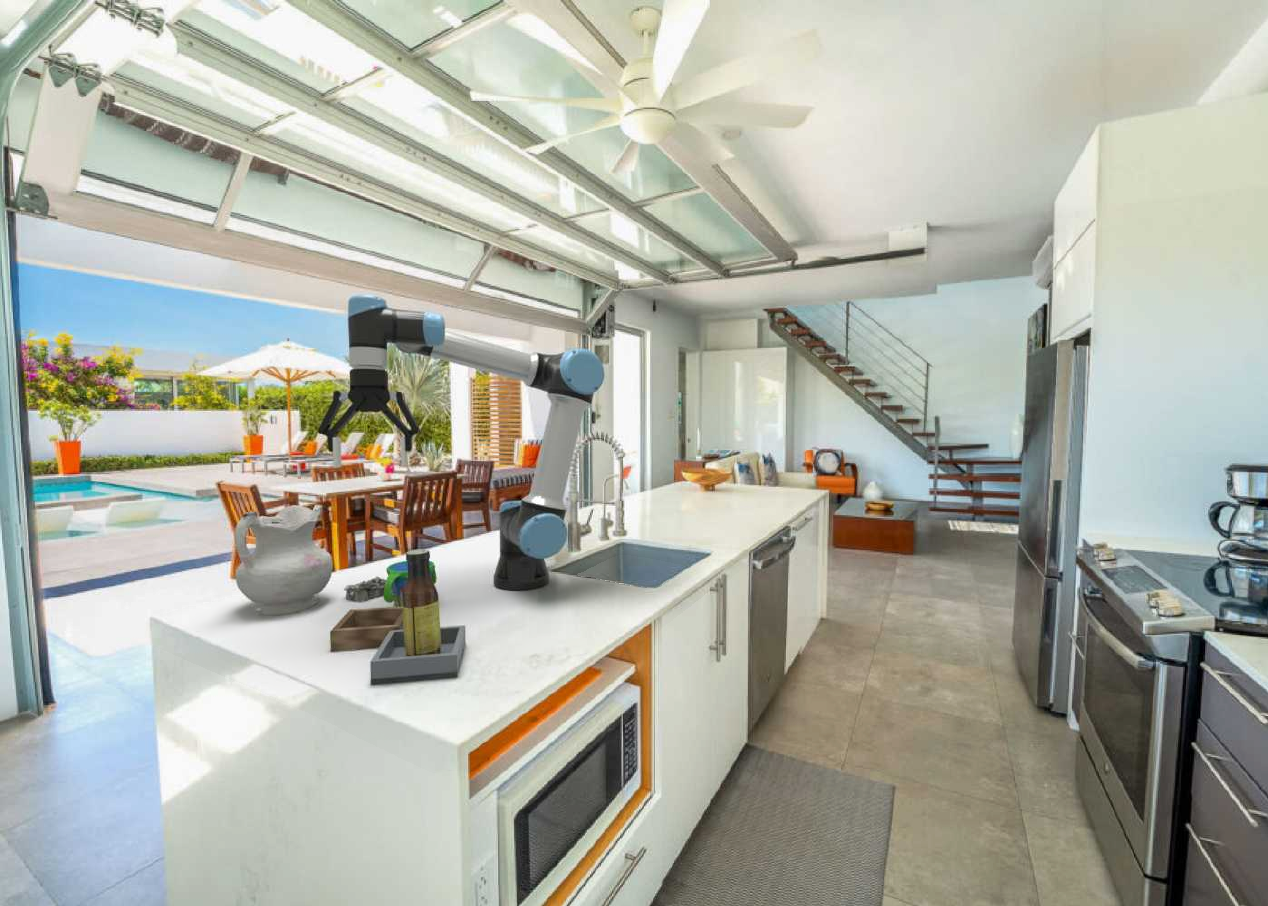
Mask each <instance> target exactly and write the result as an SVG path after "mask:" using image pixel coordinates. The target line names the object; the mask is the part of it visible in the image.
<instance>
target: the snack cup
mask: <svg viewBox="0 0 1268 906" xmlns="http://www.w3.org/2000/svg"><path fill="white" fill-rule="evenodd" d="M429 565H430V566H429V567H430V574H431V577H432V580H433V582H434V585H435V584H436V582H437V579H438V578H437V572H436V565H435V563H434V562H433V561H431V560H429ZM386 573H387V577H386V579H385V580H386V583H385V588H384V594H382V595H383V600H384V601H385V602H386V603H388V604H389V603H393V604H394V607H401V606H402V605H403V596H402V591H403V588H404V585H405V583H406V581H407V579H408V562H407V560H403V561H398V562H394V563H392V564H390V565H388V566H387V567H386Z"/></svg>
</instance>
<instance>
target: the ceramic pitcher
mask: <svg viewBox="0 0 1268 906" xmlns="http://www.w3.org/2000/svg"><path fill="white" fill-rule="evenodd" d="M322 512H323V505H322V504H316V503H314V507H313V509H311V508H308V507H307V506H300V505H297V504H296V505H295V504H293V505H290V506H286V507H283V508H282V509H281V510H279V512H278V513H277V514H276V515H275V516H264V515H261V516H259V514H258V511H255V510H251V511H250V510H249V511H246V512H244V514H241V516H242V517H241V518H240V519H239V521H238V523H237V524H236V527H235V529H234V532H233V533H234V538H233V539H234V545H235V548H236V552H237V554H238V557H239V559H240V561H241V563H239V565H238V566H237V568H236V570H235V583H236V585H237V588H238V590H239V591H240V592H241V593H242V594H243V595H244V596H245V597H246V598H247V599H249V600H250V601H251V602H253V603H255V604H261V606H259V607H260V608H259V610H258V611H257V612H258V614H259V615H265V616H267V615H268V616H274V617H275V616H280V615H286V614H294V613H295V614H296V613H300V612H301V611H304V610H306V609H309V608H311V607H312V606H314V605H317V604H319V602H320V601H319V600H320V599H319V598H315V595H318V594H319V593H321V592H322V591H324V589H325V588H326V587H327V585H328V584H329V581H330V580H331V578H332V574H333V567H334V566H333V565H334V564H333V557H332V555H331V554H330V553H329V552H328V551H325V550H324V549H322V548H321V547H320V546H318V545H316V544H315V543H314V540H313V533H314V529H315V527H316V524H317V521H318V518H319V516H320V514H321V513H322ZM249 528H250V530H251V532H252V533H253V535H254V537H255V541H256V544H255V549H254V550H253V552H252V553H251V552H250V549H249V548H248V546H247V545H248V544H247V532H248V530H249Z"/></svg>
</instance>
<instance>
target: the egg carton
mask: <svg viewBox="0 0 1268 906" xmlns="http://www.w3.org/2000/svg"><path fill="white" fill-rule="evenodd" d="M386 580H387V579H385V578H381V577H379V576H376V577H374V578H372V579H367V581H366V580H363V581H362V582H358V583H356V584H349V585H346V586H345V587H344V588H343V591H345V592H346V593H345V594H346V595H345V596H346V600H347V601H352V600H354V603H355V602H356V603H359V602H367V601H368V600H369V599H374V598H378V597H380V596H382V595H384V588H385V583H386Z"/></svg>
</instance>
